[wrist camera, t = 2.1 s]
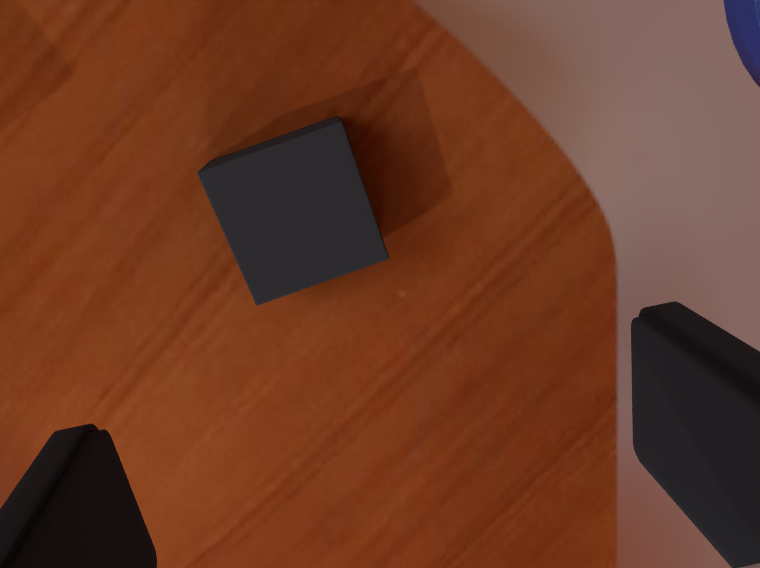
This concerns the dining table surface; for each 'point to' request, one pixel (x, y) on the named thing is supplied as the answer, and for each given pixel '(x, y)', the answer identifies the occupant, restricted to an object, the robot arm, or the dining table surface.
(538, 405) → the dining table surface
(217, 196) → the small pad
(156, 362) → the dining table surface
